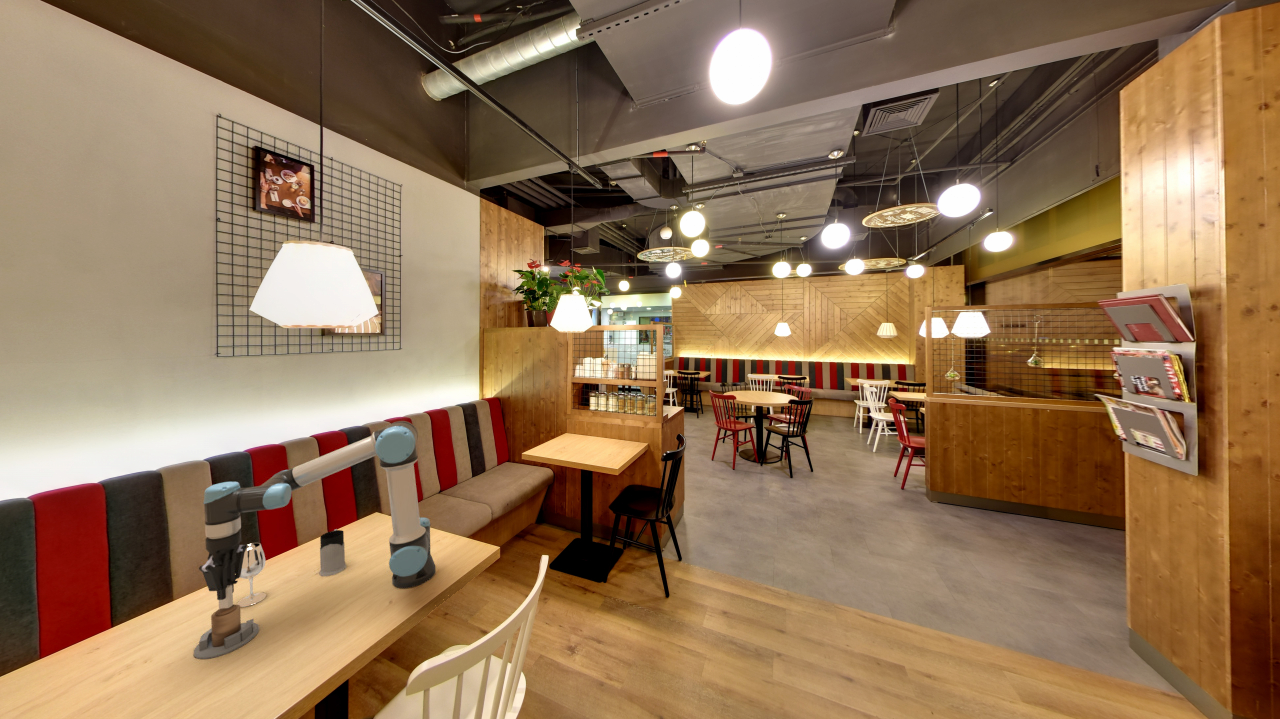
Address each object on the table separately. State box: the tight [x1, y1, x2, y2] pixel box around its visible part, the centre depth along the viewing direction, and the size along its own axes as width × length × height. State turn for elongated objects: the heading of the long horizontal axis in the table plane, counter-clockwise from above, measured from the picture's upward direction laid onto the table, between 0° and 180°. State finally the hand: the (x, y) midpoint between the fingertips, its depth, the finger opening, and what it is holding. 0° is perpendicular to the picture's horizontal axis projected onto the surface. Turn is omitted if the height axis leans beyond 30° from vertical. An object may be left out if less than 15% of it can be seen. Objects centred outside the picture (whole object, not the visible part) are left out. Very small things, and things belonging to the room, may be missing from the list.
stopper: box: [210, 603, 242, 647], centre depth 120 cm, size 6×6×10 cm
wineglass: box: [236, 542, 267, 608], centre depth 139 cm, size 8×8×20 cm
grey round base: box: [193, 618, 260, 660], centre depth 120 cm, size 14×14×4 cm
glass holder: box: [319, 528, 347, 577], centre depth 161 cm, size 9×14×15 cm, turn 30°
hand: (226, 606), depth 120 cm, fingers closed
